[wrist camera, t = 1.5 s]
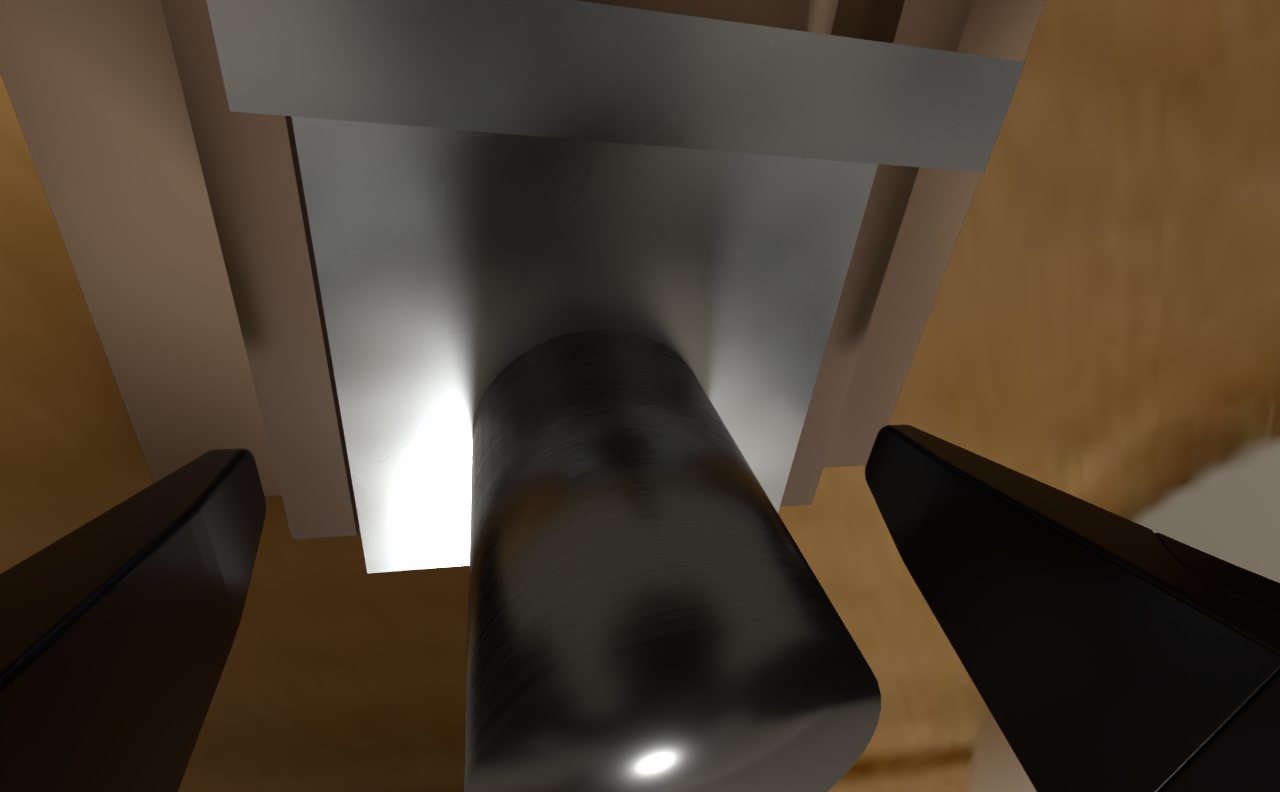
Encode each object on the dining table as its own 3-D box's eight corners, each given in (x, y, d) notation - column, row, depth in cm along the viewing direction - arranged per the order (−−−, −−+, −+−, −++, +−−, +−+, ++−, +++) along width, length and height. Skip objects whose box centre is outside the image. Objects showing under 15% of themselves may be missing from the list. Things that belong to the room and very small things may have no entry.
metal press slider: (819, 46, 9) (1455, 96, 3) (727, 463, 13) (934, 838, 7) (323, -19, 8) (-308, -175, 2) (386, 479, 12) (281, 984, 6)
